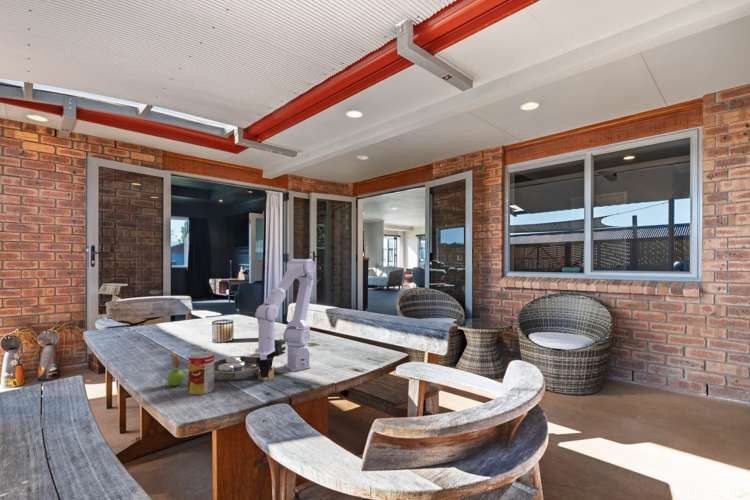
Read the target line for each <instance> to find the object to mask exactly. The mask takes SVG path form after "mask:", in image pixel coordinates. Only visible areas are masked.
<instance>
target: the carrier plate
mask: <svg viewBox="0 0 750 500" xmlns="http://www.w3.org/2000/svg"><path fill="white" fill-rule="evenodd" d="M259 357H260V356H256V355H255V356H254V355H238V356H237V355H232V356H227V357H225V358H220V359H217V360H214V381H220V382H237V381H242V380H243V381H244V380H248V379H253V378H258V371H259V369H260V368H259V365H258V363H257V362H256V358H259Z"/></svg>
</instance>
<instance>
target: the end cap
mask: <svg viewBox="0 0 750 500" xmlns="http://www.w3.org/2000/svg"><path fill="white" fill-rule="evenodd" d="M285 344H286V342H285V340H284V338H282V339H281V338H280V339H275V343H274V348H275V351H276V353H275V355H277V356H282V355H284V354H285V353H286V351H285V350H286V346H283V345H285ZM286 345H287V344H286ZM275 355H274V356H275Z"/></svg>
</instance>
